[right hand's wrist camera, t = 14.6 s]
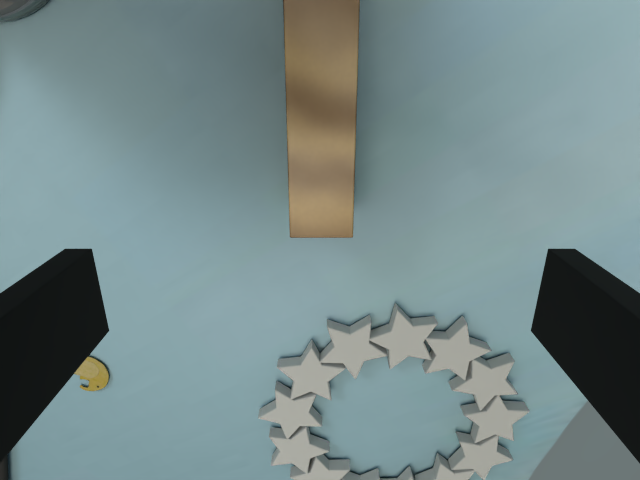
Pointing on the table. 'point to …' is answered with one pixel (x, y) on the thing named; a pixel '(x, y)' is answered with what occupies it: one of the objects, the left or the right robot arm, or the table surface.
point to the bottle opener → (93, 374)
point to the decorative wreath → (400, 342)
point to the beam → (321, 115)
